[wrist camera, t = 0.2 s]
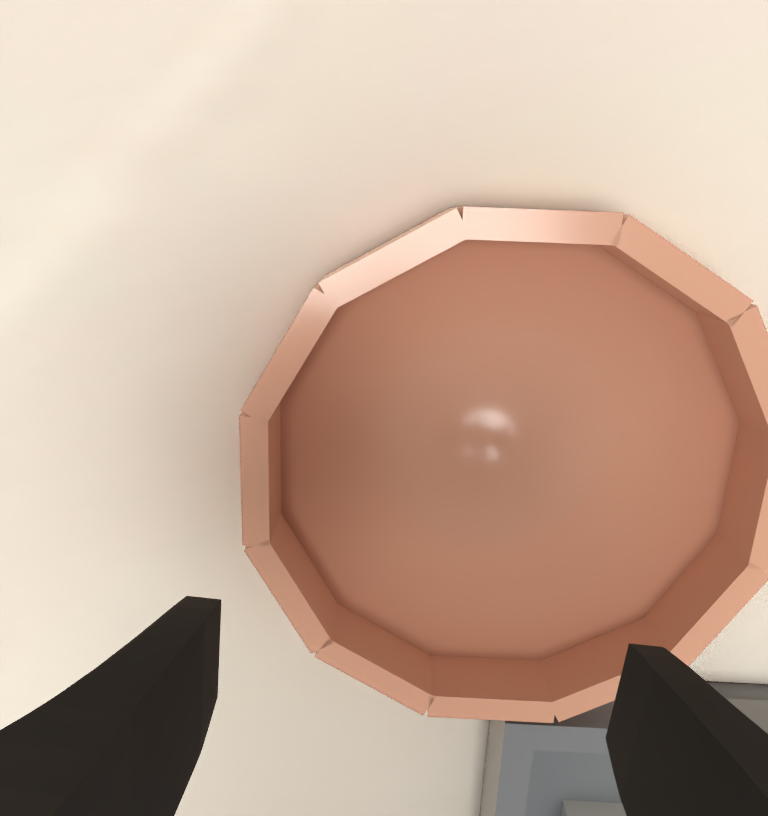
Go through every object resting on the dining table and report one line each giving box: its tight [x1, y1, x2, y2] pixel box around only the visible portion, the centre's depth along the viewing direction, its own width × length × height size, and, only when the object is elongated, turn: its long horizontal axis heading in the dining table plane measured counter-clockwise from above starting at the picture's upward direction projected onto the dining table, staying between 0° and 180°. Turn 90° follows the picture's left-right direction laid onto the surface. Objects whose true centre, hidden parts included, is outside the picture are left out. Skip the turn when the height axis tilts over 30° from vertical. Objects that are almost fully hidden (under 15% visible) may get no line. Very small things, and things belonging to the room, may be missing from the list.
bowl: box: [239, 206, 768, 723], centre depth 20 cm, size 16×16×3 cm
